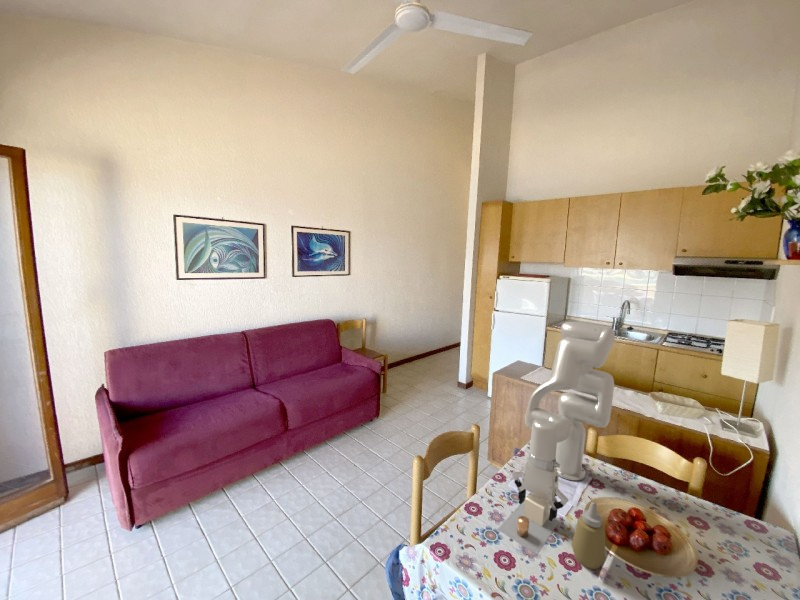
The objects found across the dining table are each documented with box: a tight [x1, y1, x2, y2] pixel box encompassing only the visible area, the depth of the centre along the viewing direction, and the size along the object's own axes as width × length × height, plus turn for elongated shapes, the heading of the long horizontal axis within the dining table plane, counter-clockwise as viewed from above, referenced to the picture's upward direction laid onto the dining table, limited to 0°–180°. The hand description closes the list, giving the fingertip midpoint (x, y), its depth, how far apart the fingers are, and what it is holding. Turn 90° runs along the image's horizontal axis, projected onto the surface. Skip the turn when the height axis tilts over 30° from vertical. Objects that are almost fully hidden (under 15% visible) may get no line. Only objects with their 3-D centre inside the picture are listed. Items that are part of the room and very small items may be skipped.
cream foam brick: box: [523, 492, 551, 526], centre depth 109 cm, size 6×6×6 cm
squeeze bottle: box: [571, 501, 606, 570], centre depth 93 cm, size 8×8×18 cm
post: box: [517, 516, 529, 538], centre depth 102 cm, size 3×3×4 cm
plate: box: [497, 501, 561, 555], centre depth 106 cm, size 18×12×1 cm, turn 135°
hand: (536, 509), depth 108 cm, fingers open, 9 cm apart
